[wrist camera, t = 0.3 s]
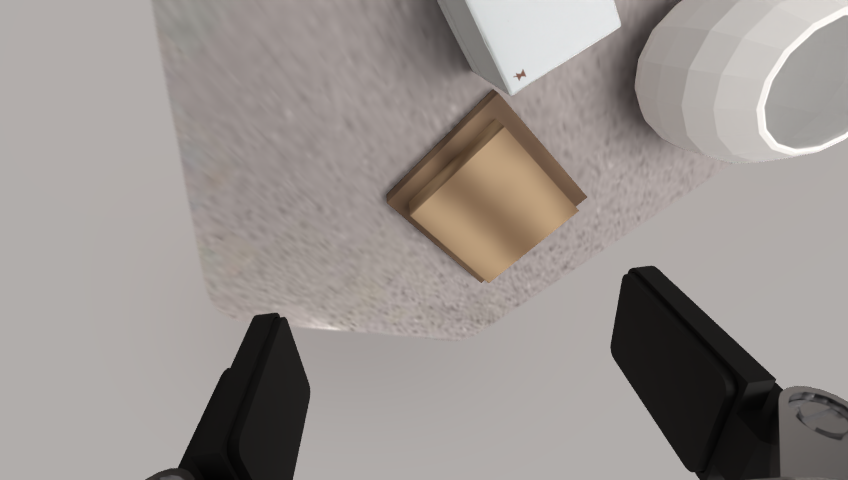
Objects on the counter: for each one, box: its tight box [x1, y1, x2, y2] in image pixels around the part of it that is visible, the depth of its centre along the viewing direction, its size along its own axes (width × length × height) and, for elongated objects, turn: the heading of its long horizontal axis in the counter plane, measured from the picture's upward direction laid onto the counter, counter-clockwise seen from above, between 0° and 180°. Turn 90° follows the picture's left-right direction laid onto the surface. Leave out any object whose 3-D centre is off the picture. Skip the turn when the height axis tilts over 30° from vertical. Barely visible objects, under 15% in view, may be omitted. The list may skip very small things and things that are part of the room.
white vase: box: [635, 0, 848, 163], centre depth 30 cm, size 13×13×14 cm
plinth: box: [387, 90, 587, 283], centre depth 39 cm, size 14×14×5 cm
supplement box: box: [437, 0, 621, 96], centre depth 27 cm, size 7×7×13 cm
